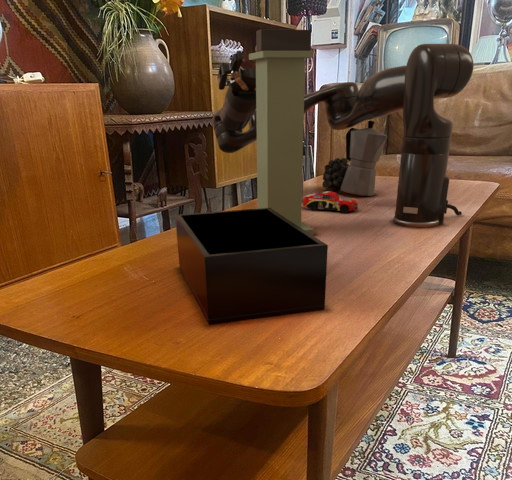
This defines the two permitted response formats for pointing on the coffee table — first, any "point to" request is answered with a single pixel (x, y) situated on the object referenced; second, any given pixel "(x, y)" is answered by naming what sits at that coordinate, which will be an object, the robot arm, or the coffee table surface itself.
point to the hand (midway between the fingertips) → (260, 55)
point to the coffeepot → (362, 159)
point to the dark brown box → (283, 40)
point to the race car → (329, 202)
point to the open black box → (250, 264)
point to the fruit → (334, 174)
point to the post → (280, 131)
